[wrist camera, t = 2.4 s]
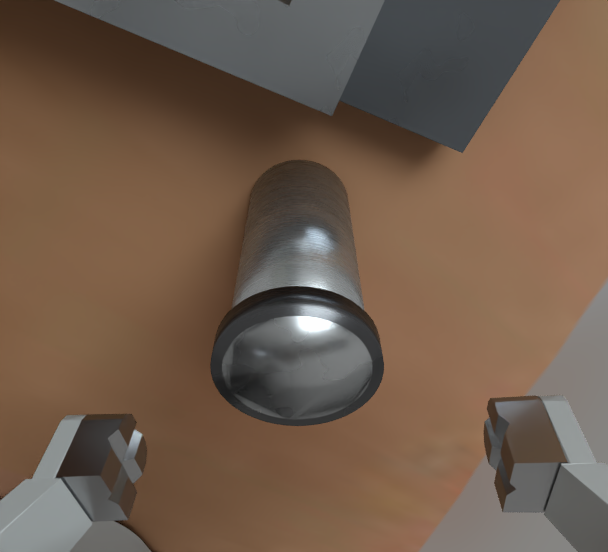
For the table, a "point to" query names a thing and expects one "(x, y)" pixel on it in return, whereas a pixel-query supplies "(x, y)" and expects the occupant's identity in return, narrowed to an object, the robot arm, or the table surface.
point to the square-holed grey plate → (353, 51)
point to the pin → (297, 306)
